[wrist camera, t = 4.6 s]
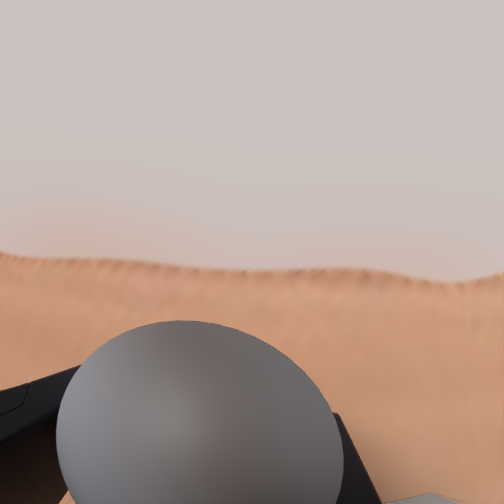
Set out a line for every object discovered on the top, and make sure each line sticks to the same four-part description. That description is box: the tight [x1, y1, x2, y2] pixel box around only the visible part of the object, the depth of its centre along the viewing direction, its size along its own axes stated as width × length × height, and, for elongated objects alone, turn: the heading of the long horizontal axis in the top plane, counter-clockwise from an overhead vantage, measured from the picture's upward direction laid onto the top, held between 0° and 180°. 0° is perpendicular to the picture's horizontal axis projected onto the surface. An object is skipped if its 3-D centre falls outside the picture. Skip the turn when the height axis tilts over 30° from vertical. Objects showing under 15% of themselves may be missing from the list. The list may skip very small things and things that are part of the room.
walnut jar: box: [56, 321, 344, 504], centre depth 9 cm, size 5×5×10 cm
